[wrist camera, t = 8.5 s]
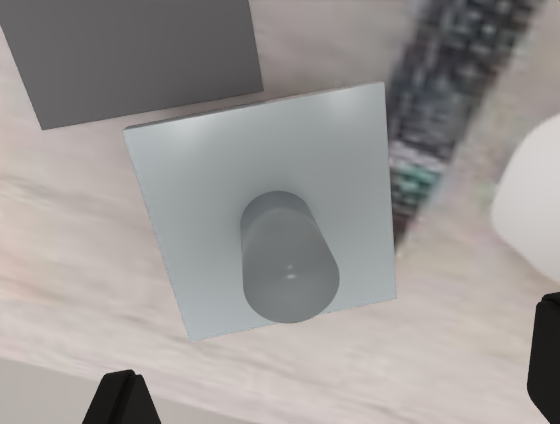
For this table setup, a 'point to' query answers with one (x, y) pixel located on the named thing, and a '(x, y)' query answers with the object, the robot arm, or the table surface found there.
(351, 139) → the lid
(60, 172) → the table surface
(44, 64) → the mat
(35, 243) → the table surface
